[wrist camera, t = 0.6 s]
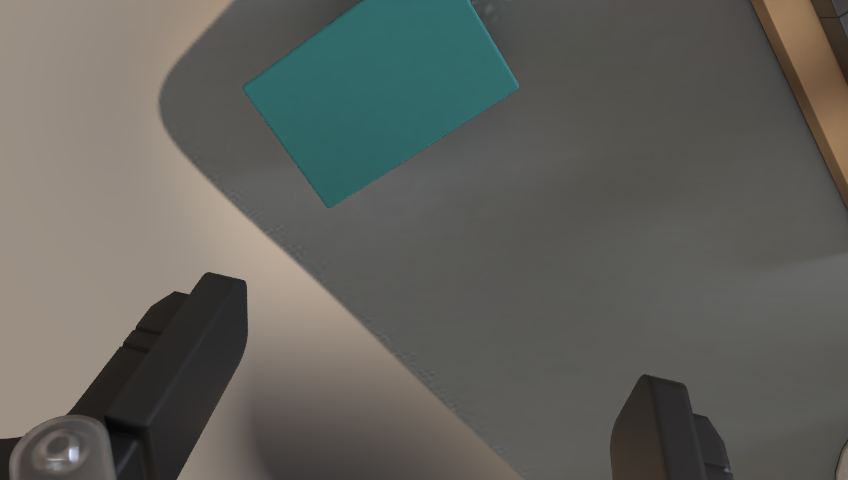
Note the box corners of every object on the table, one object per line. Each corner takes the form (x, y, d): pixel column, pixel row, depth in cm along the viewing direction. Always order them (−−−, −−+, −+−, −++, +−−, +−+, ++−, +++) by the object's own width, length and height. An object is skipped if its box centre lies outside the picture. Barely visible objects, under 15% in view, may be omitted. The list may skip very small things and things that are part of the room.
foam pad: (316, 64, 28) (240, 87, 19) (447, -29, 26) (437, -55, 17) (372, 148, 29) (327, 210, 20) (502, 63, 27) (520, 87, 18)
